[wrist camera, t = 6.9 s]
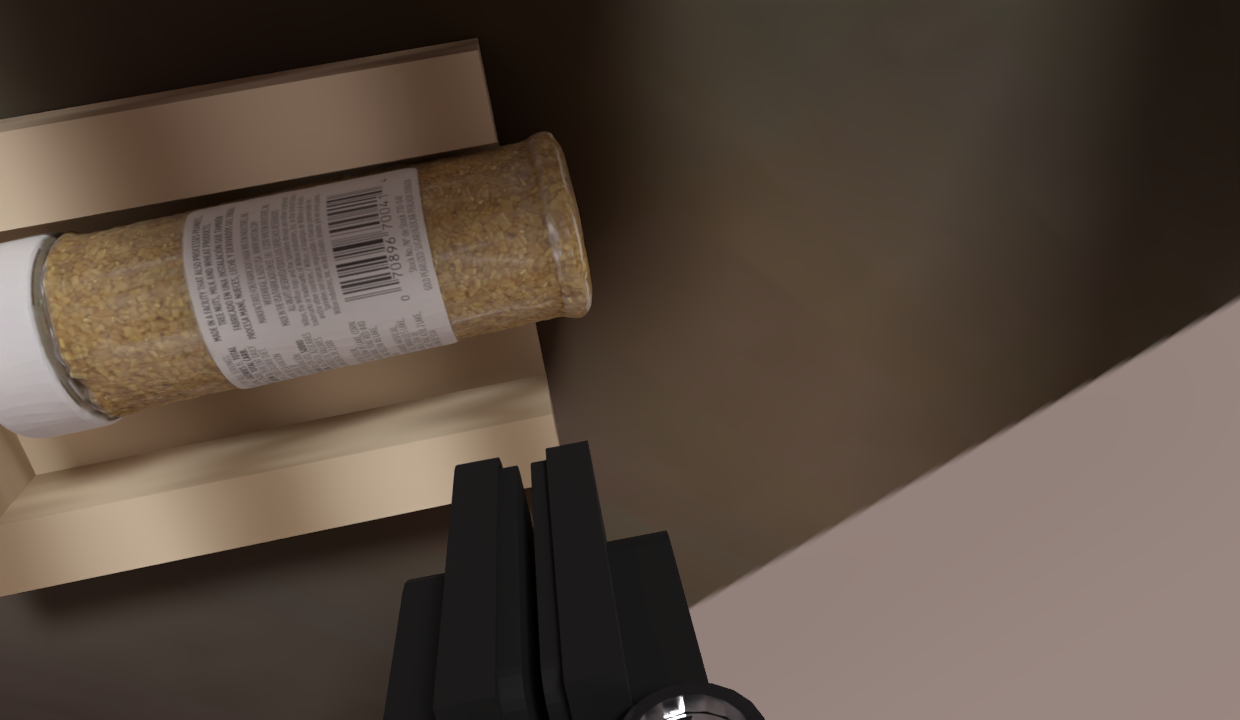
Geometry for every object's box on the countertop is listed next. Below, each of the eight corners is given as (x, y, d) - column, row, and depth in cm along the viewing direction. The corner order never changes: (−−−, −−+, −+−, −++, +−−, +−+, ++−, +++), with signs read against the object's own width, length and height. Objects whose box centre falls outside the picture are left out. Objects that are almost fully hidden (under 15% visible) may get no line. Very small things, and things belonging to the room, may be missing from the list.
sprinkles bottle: (553, 137, 24) (26, 245, 23) (561, 118, 20) (-93, 251, 19) (590, 308, 25) (81, 419, 24) (605, 328, 20) (-20, 465, 19)
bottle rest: (477, 37, 23) (477, 50, 20) (555, 422, 27) (566, 480, 24) (-150, 145, 22) (-248, 175, 19) (41, 526, 26) (-15, 599, 23)
